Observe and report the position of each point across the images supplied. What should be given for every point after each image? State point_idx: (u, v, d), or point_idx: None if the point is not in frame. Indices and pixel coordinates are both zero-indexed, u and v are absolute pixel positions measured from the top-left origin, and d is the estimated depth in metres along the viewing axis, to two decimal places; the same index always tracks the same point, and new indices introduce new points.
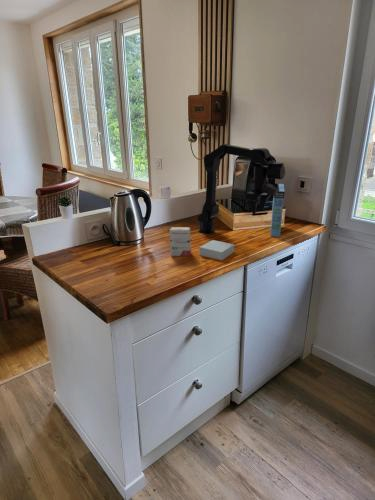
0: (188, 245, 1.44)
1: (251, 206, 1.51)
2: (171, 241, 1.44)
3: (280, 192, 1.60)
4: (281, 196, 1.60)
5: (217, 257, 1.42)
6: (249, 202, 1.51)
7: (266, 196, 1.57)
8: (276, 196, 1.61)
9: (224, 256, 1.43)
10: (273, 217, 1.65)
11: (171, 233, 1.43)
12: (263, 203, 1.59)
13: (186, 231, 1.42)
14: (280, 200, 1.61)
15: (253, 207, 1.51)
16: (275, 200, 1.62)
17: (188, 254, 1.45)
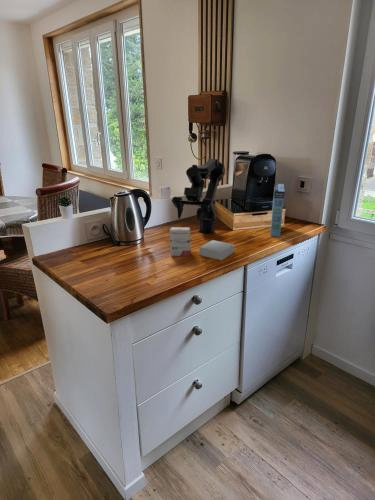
0: (188, 245, 1.44)
1: None
2: (171, 241, 1.44)
3: (280, 192, 1.60)
4: (281, 196, 1.60)
5: (217, 257, 1.42)
6: None
7: None
8: (276, 196, 1.61)
9: (224, 256, 1.43)
10: (273, 217, 1.65)
11: (171, 233, 1.43)
12: None
13: (186, 231, 1.42)
14: (280, 200, 1.61)
15: None
16: (275, 200, 1.62)
17: (188, 254, 1.45)
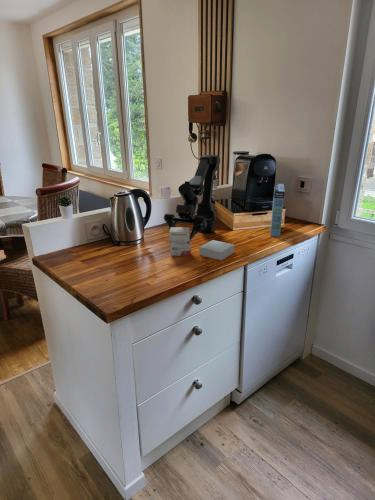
0: (188, 246, 1.43)
1: None
2: (171, 242, 1.43)
3: (280, 192, 1.60)
4: (281, 196, 1.60)
5: (217, 257, 1.42)
6: None
7: None
8: (276, 196, 1.61)
9: (224, 256, 1.43)
10: (273, 217, 1.65)
11: (171, 234, 1.41)
12: None
13: (186, 232, 1.40)
14: (280, 200, 1.61)
15: None
16: (275, 200, 1.62)
17: (188, 254, 1.45)
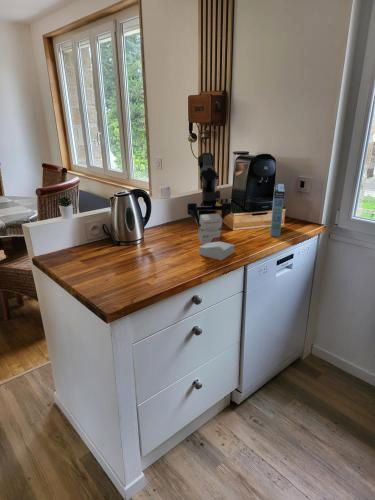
0: (219, 232, 1.42)
1: (195, 219, 1.44)
2: (203, 230, 1.39)
3: (280, 192, 1.60)
4: (281, 196, 1.60)
5: (217, 257, 1.42)
6: (194, 216, 1.46)
7: (221, 211, 1.43)
8: (276, 196, 1.61)
9: (224, 256, 1.43)
10: (273, 217, 1.65)
11: (204, 223, 1.37)
12: None
13: (219, 220, 1.38)
14: (280, 200, 1.61)
15: (196, 219, 1.43)
16: (275, 200, 1.62)
17: (218, 240, 1.44)
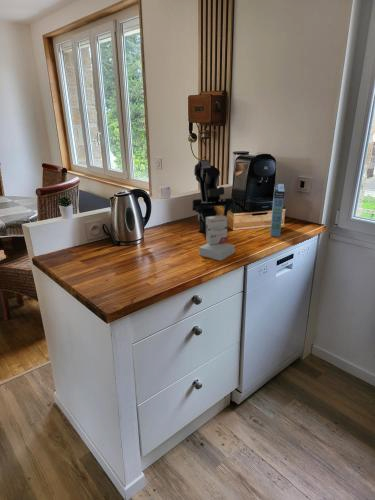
0: (226, 232, 1.48)
1: (201, 215, 1.51)
2: (210, 230, 1.46)
3: (280, 192, 1.60)
4: (281, 196, 1.60)
5: (216, 258, 1.42)
6: (199, 212, 1.52)
7: (225, 206, 1.51)
8: (276, 196, 1.61)
9: (223, 257, 1.42)
10: (273, 217, 1.65)
11: (210, 221, 1.45)
12: (224, 213, 1.50)
13: (224, 218, 1.46)
14: (280, 200, 1.61)
15: (201, 214, 1.50)
16: (275, 200, 1.62)
17: (226, 240, 1.50)
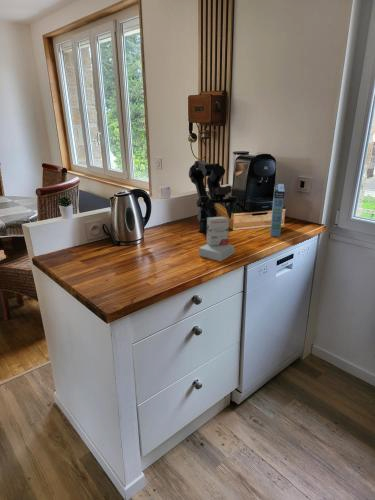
0: (227, 234, 1.47)
1: (207, 212, 1.52)
2: (211, 230, 1.44)
3: (280, 192, 1.60)
4: (281, 196, 1.60)
5: (216, 258, 1.41)
6: (204, 209, 1.53)
7: (229, 204, 1.55)
8: (276, 196, 1.61)
9: (223, 257, 1.41)
10: (273, 217, 1.65)
11: (212, 222, 1.43)
12: (229, 211, 1.55)
13: (226, 219, 1.45)
14: (280, 200, 1.61)
15: (208, 211, 1.51)
16: (275, 200, 1.62)
17: (226, 242, 1.48)
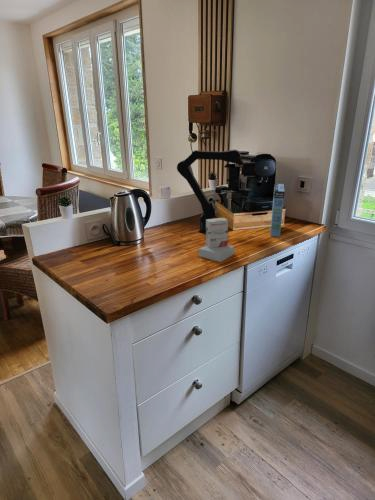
0: (226, 235, 1.45)
1: (243, 202, 1.65)
2: (210, 233, 1.42)
3: (280, 192, 1.60)
4: (281, 196, 1.60)
5: (216, 259, 1.40)
6: (243, 199, 1.64)
7: (226, 193, 1.72)
8: (276, 196, 1.61)
9: (223, 258, 1.41)
10: (273, 217, 1.65)
11: (211, 225, 1.41)
12: (225, 200, 1.72)
13: (225, 221, 1.42)
14: (280, 200, 1.61)
15: (243, 202, 1.66)
16: (275, 200, 1.62)
17: (226, 244, 1.46)
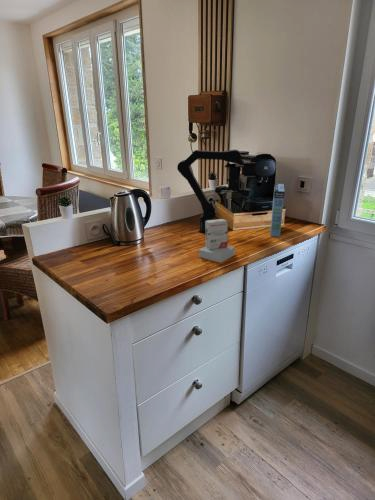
0: (226, 236, 1.43)
1: (243, 202, 1.66)
2: (210, 234, 1.41)
3: (280, 192, 1.60)
4: (281, 196, 1.60)
5: (216, 260, 1.39)
6: (243, 199, 1.64)
7: (225, 193, 1.72)
8: (276, 196, 1.61)
9: (224, 259, 1.40)
10: (273, 217, 1.65)
11: (210, 226, 1.40)
12: (225, 200, 1.72)
13: (224, 222, 1.41)
14: (280, 200, 1.61)
15: (243, 202, 1.67)
16: (275, 200, 1.62)
17: (226, 245, 1.45)
